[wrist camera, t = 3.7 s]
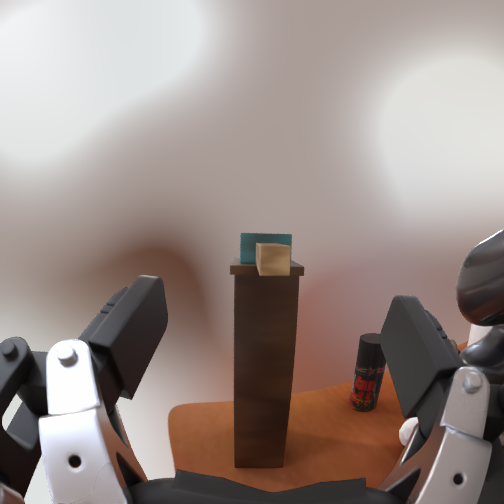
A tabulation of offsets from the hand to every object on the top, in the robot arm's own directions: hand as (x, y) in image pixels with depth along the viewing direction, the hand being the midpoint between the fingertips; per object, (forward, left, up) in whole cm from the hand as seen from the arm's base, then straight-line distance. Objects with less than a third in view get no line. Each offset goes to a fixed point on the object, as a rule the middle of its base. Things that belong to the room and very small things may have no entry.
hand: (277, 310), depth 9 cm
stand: (-1, -26, -31) cm, 40 cm away
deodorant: (-23, -37, -31) cm, 53 cm away
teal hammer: (-1, -21, -1) cm, 21 cm away
